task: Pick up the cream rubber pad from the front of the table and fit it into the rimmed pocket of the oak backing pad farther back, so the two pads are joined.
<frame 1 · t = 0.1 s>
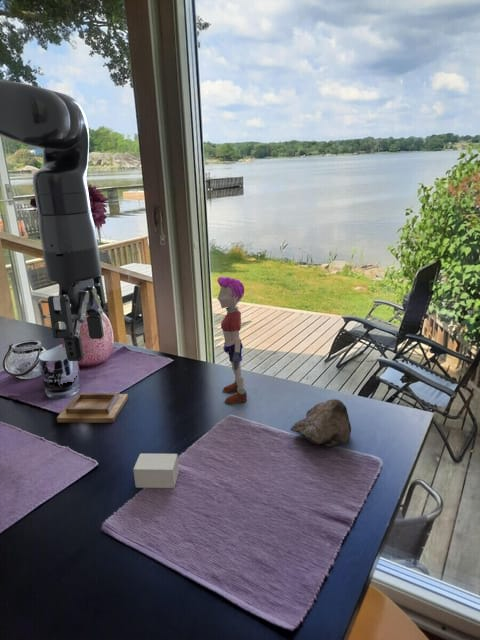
hand: (87, 348, 69), 27 cm above the table, tool pointing down, fingers open, 8 cm apart
backing pad: (94, 409, 104), on the table
toy: (235, 395, 109), on the table
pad: (157, 479, 80), on the table
rock: (320, 436, 92), on the table
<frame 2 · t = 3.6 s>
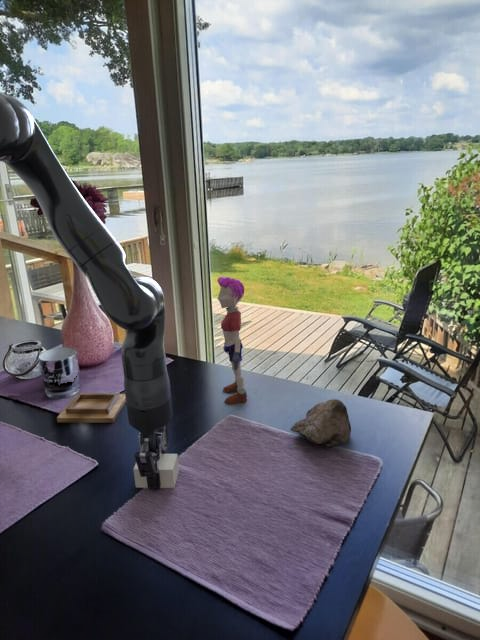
hand: (157, 478, 80), 0 cm above the table, tool pointing down, fingers closed on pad, 4 cm apart
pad: (157, 479, 80), on the table, touching gripper
everything else where it was.
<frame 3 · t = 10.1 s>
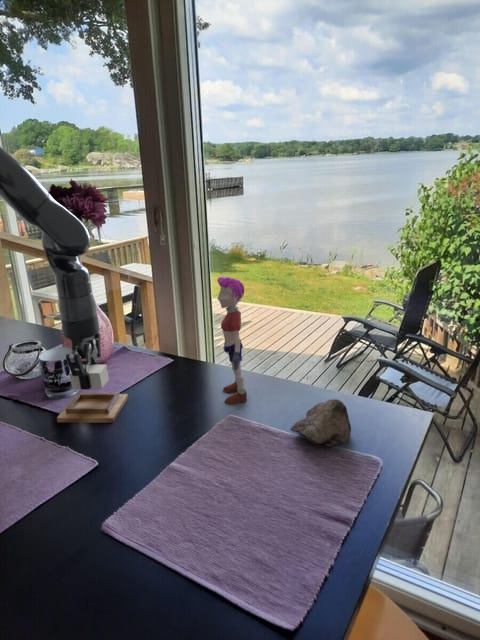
hand: (90, 383, 102), 7 cm above the table, tool pointing down, fingers closed on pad, 4 cm apart
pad: (90, 384, 102), point 7 cm above the table, touching gripper
everything else where it was.
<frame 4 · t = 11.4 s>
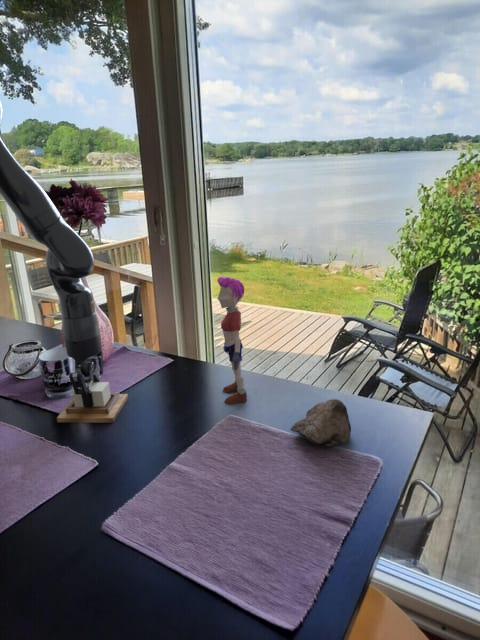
hand: (92, 400, 104), 2 cm above the table, tool pointing down, fingers closed on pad, 4 cm apart
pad: (93, 401, 104), point 2 cm above the table, touching gripper
everything else where it was.
when the fingers open (3 cm above the table, at t = 16.8 s): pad drops 2 cm, resting on backing pad.
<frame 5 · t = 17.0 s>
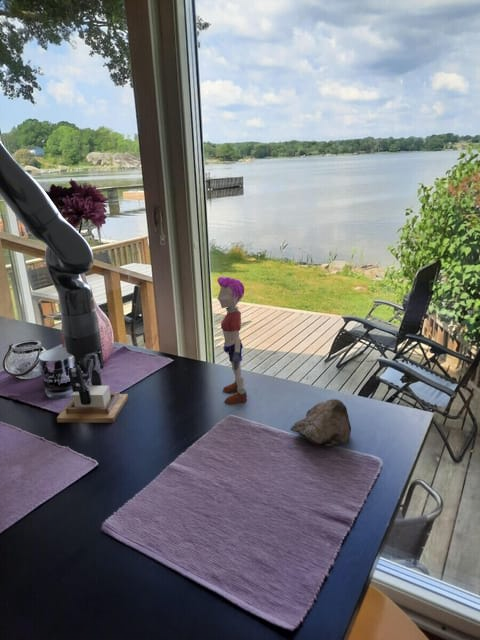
hand: (92, 396, 103), 4 cm above the table, tool pointing down, fingers open, 6 cm apart
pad: (93, 405, 104), point 1 cm above the table, touching backing pad
everything else where it was.
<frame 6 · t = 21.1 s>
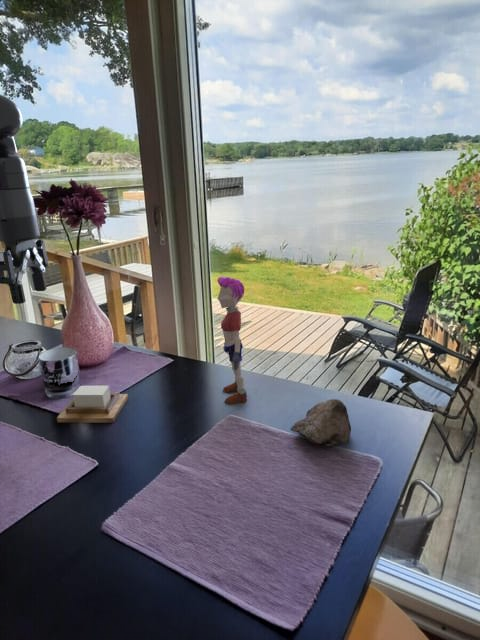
hand: (30, 296, 88), 30 cm above the table, tool pointing down, fingers open, 8 cm apart
nothing on the table moved.
at the end: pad 0.1 cm off-centre on the backing pad, point 1.2 cm above the backing pad's base; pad tilted 0°; the gripper is holding nothing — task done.
